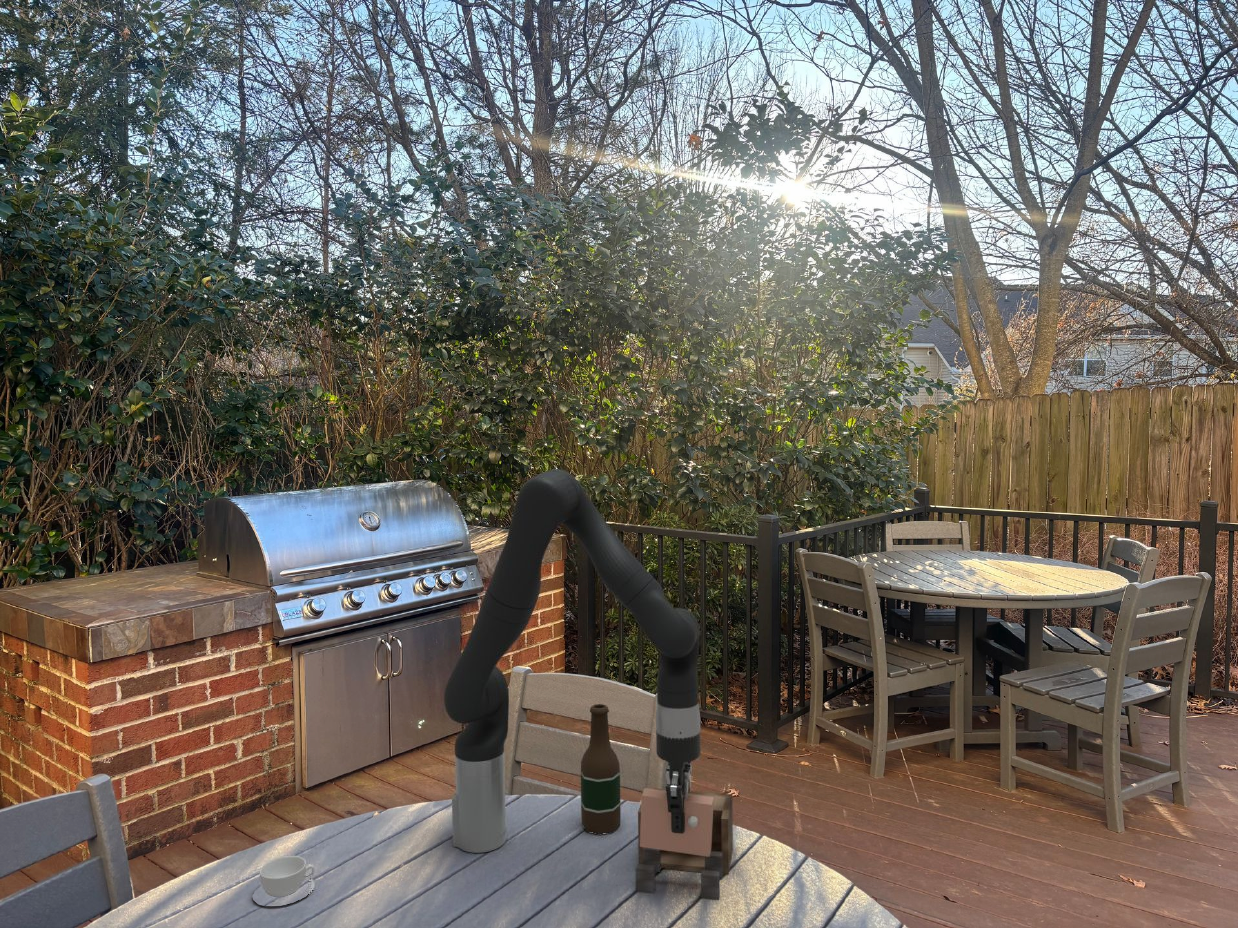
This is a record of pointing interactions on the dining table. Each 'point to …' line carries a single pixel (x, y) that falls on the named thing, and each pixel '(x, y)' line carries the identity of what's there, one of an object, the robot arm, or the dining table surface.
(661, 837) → the door
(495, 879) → the dining table surface
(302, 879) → the teacup
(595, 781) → the beer bottle
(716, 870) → the cabinet
